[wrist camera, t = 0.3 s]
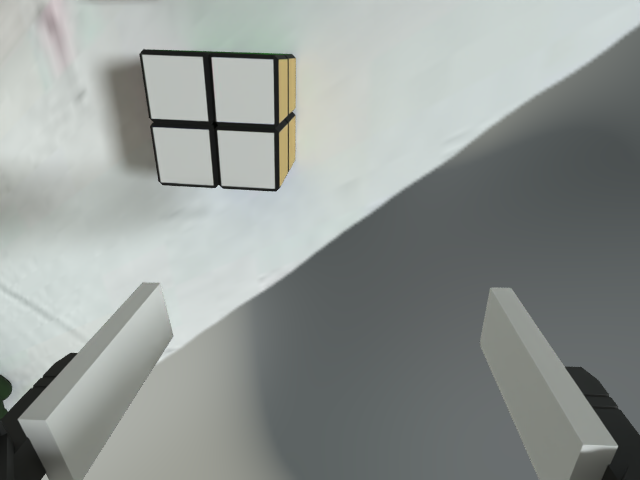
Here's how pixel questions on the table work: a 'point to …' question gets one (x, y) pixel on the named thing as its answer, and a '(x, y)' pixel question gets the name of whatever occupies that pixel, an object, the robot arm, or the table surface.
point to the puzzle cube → (221, 117)
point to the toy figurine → (4, 395)
